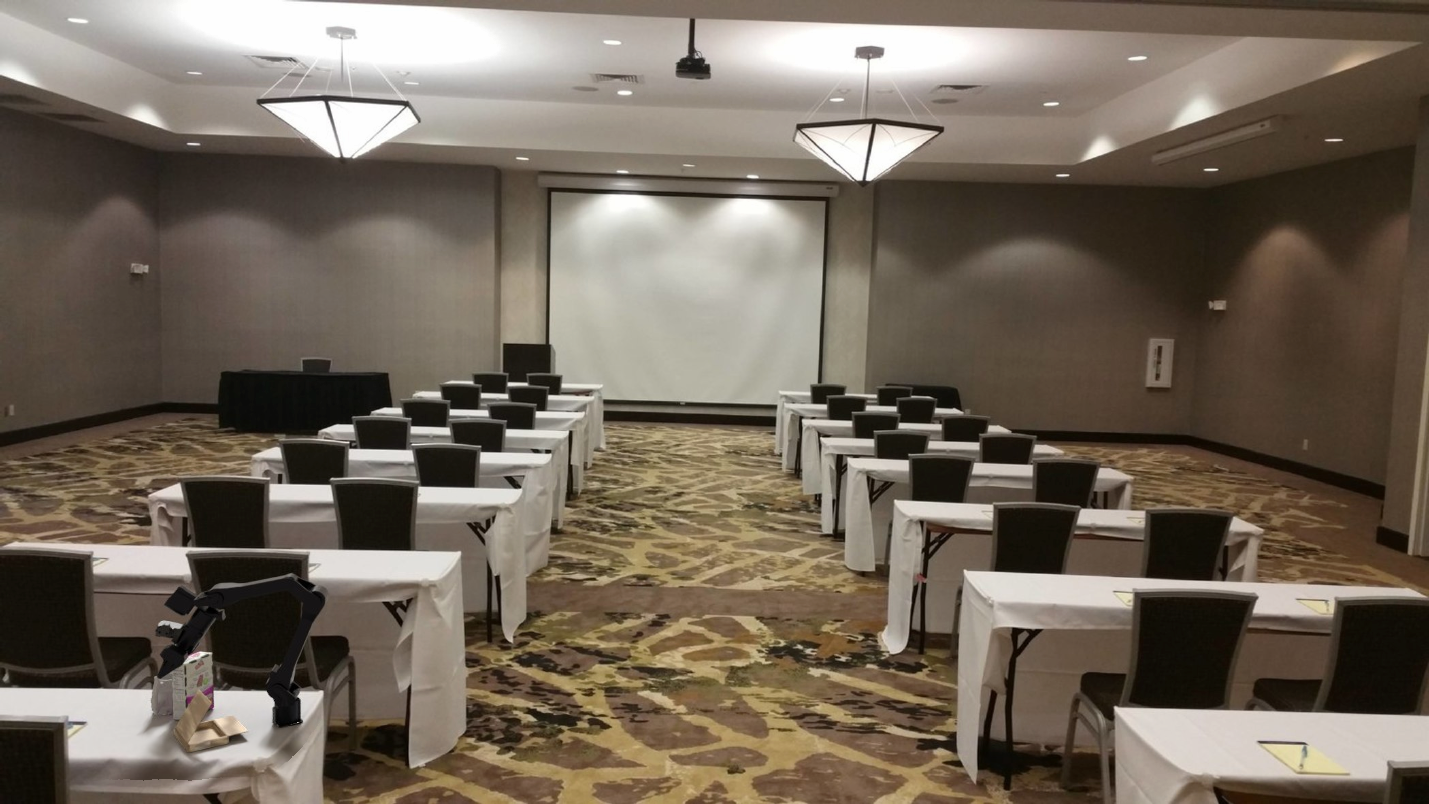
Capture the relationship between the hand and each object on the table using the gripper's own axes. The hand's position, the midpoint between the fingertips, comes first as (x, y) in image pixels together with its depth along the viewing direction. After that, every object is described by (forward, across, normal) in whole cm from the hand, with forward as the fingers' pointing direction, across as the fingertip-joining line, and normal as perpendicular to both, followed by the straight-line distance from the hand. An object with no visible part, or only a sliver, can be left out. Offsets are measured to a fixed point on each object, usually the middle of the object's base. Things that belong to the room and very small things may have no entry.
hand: (163, 672), depth 281 cm
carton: (+5, +8, +20) cm, 22 cm away
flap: (+7, +11, +14) cm, 19 cm away
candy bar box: (+10, -10, +13) cm, 19 cm away
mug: (+15, -12, +6) cm, 20 cm away
